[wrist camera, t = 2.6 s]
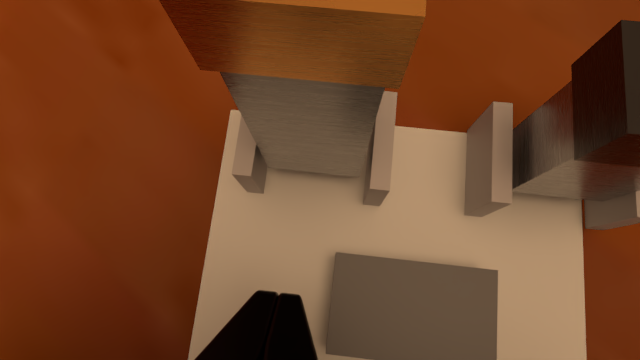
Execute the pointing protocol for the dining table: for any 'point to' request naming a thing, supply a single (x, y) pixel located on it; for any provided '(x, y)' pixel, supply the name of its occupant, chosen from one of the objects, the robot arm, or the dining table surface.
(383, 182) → the panel
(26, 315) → the dining table surface
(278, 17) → the orange lever
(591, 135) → the black lever
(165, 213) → the dining table surface
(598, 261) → the dining table surface
